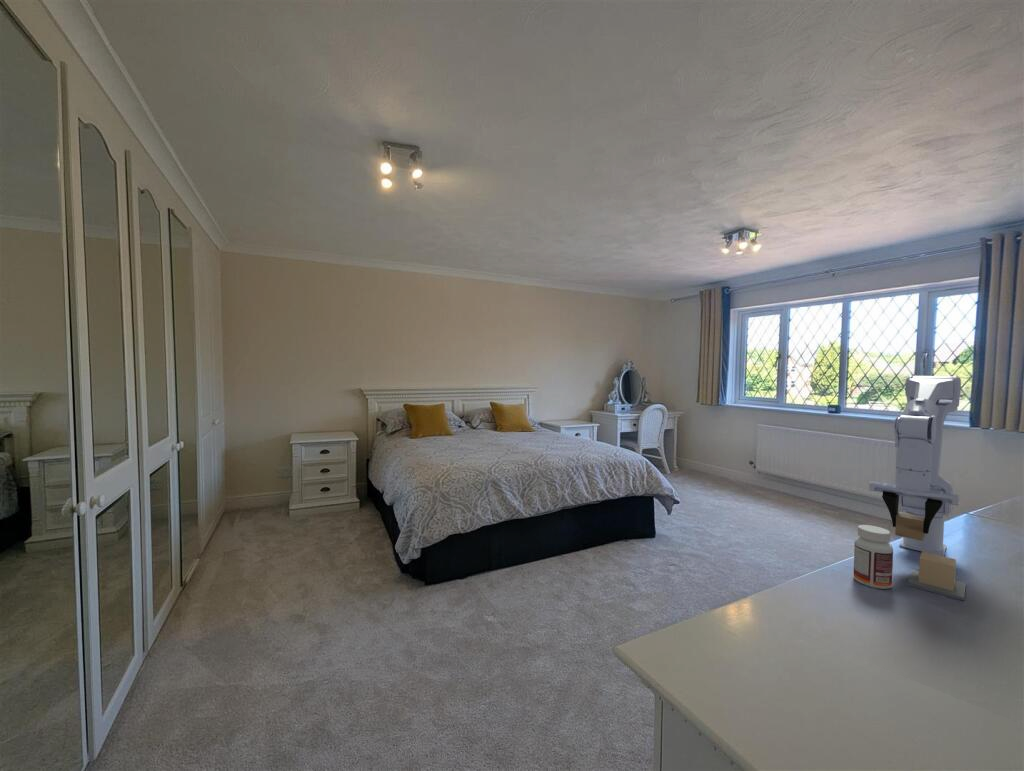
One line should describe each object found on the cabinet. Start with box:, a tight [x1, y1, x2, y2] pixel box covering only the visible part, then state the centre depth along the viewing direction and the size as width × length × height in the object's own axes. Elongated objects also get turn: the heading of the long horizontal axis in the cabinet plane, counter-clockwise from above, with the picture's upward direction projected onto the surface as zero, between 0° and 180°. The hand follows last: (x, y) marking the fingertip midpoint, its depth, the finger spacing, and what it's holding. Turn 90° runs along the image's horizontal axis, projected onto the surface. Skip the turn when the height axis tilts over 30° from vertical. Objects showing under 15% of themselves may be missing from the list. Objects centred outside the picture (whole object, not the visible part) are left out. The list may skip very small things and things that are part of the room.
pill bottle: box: [853, 524, 894, 590], centre depth 88 cm, size 6×6×11 cm
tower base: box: [906, 551, 967, 601], centre depth 88 cm, size 9×8×6 cm
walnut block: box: [895, 511, 925, 541], centre depth 95 cm, size 4×4×4 cm
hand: (910, 529), depth 95 cm, fingers closed on walnut block, 4 cm apart
